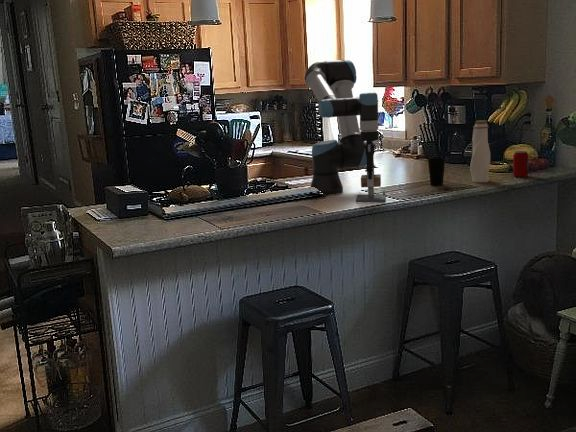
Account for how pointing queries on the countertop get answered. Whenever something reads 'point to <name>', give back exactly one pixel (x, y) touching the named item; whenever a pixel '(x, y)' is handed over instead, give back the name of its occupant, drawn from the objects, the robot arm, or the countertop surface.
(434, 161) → the cup
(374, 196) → the post base
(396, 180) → the countertop surface
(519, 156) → the beverage can
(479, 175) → the water bottle
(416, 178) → the countertop surface
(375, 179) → the collar
